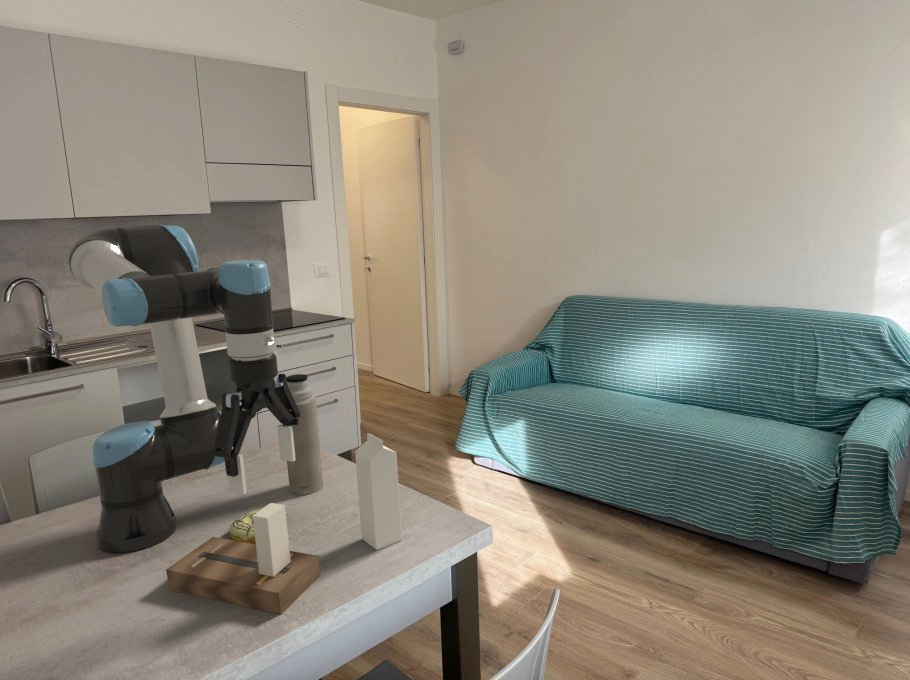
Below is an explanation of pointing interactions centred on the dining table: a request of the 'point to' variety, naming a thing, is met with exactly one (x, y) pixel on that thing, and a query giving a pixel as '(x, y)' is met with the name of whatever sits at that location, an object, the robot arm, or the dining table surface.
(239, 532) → the decorated donut
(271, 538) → the fader tab
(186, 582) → the brown flat block
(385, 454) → the milk
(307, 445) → the thermos bottle
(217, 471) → the dining table surface
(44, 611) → the dining table surface
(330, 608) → the dining table surface
